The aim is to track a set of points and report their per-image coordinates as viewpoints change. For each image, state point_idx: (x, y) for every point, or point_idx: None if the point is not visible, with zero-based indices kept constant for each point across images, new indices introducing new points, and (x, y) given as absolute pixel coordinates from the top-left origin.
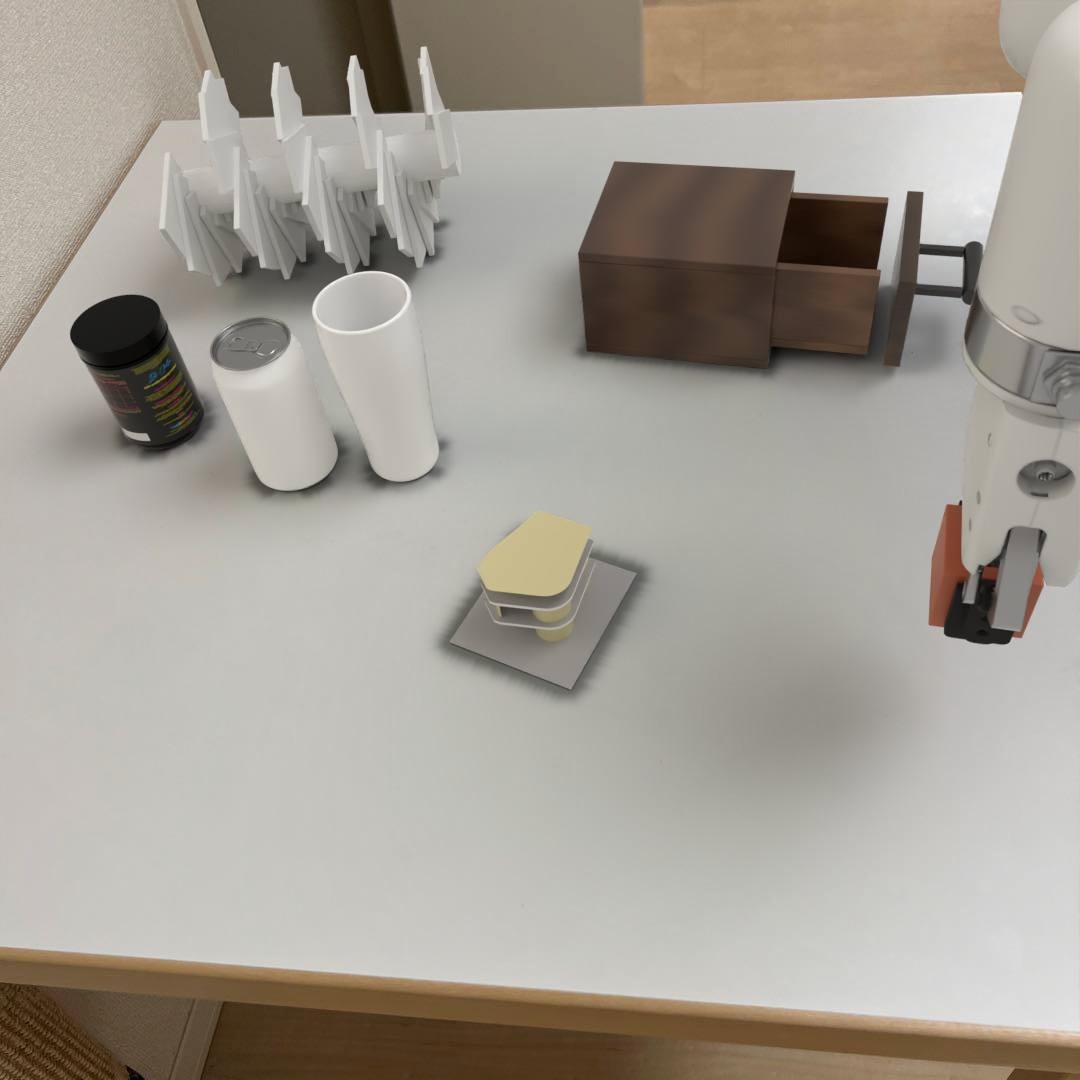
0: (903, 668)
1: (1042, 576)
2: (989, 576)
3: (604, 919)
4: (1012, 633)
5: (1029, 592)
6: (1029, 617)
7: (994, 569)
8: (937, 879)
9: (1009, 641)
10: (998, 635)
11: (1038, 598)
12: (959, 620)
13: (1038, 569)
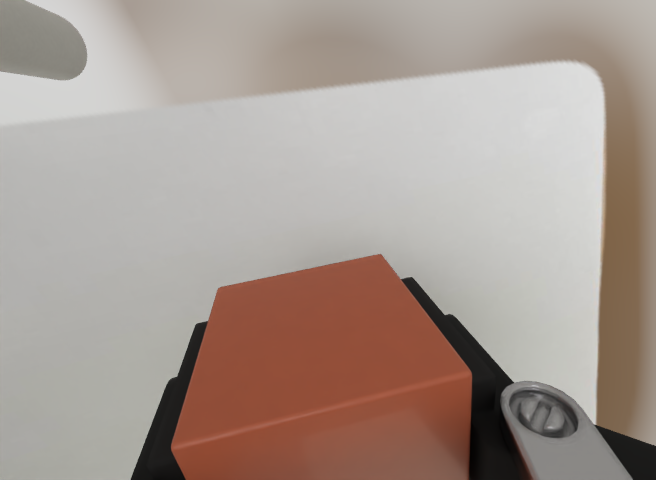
0: (283, 269)
1: (435, 382)
2: (463, 477)
3: (553, 380)
4: (425, 293)
5: (620, 464)
6: (406, 288)
7: (439, 477)
8: (491, 191)
9: (412, 279)
10: (464, 327)
11: (436, 329)
12: None
13: (416, 400)
